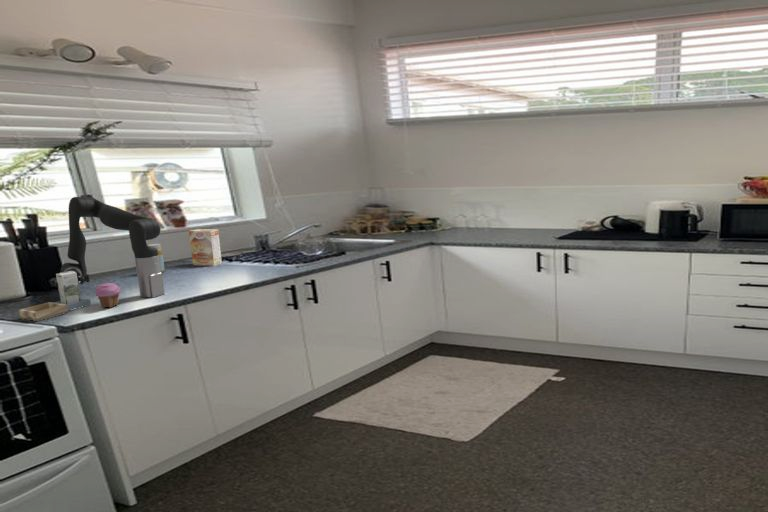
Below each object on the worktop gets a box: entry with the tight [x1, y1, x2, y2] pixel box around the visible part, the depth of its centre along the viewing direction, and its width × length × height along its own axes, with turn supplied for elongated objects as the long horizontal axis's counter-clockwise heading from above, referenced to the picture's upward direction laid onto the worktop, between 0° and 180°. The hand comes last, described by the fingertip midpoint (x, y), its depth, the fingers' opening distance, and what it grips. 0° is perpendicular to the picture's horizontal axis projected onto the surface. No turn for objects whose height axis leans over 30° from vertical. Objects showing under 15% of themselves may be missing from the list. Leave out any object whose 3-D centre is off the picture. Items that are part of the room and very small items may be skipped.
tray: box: [17, 301, 69, 322], centre depth 201 cm, size 12×12×4 cm
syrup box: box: [55, 271, 81, 305], centre depth 212 cm, size 6×6×14 cm
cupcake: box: [95, 282, 121, 308], centre depth 210 cm, size 9×9×10 cm
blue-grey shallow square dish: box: [53, 297, 91, 311], centre depth 213 cm, size 10×10×2 cm
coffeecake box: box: [188, 228, 223, 267], centre depth 291 cm, size 15×7×20 cm, turn 68°
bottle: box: [147, 243, 166, 274], centre depth 274 cm, size 7×7×15 cm
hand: (69, 283), depth 218 cm, fingers open, 8 cm apart
